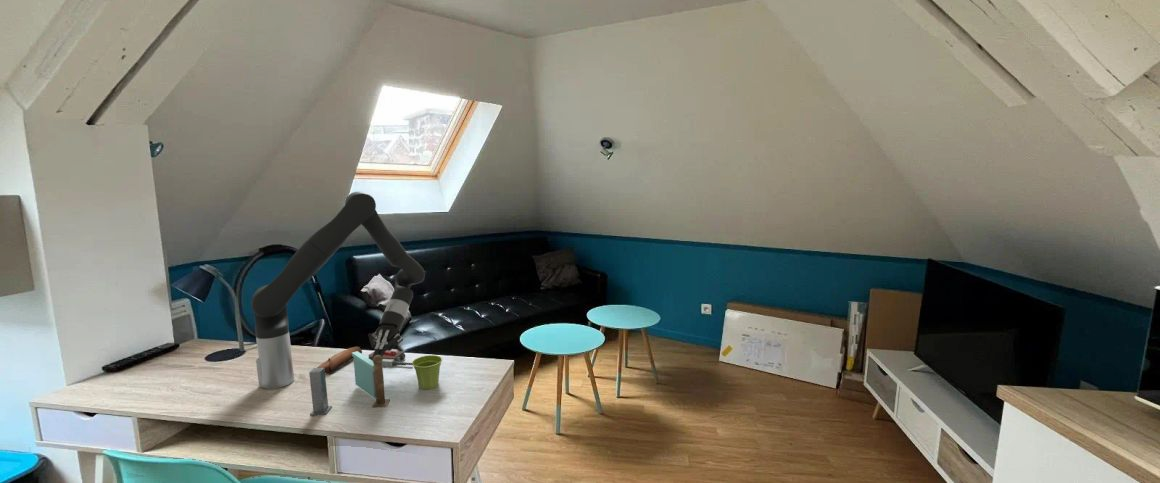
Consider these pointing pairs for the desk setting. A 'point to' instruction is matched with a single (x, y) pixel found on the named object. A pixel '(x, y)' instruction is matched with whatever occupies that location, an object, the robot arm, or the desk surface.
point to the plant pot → (427, 371)
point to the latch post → (319, 392)
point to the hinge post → (379, 383)
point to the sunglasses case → (339, 360)
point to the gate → (364, 373)
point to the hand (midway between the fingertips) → (375, 361)
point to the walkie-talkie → (392, 358)
